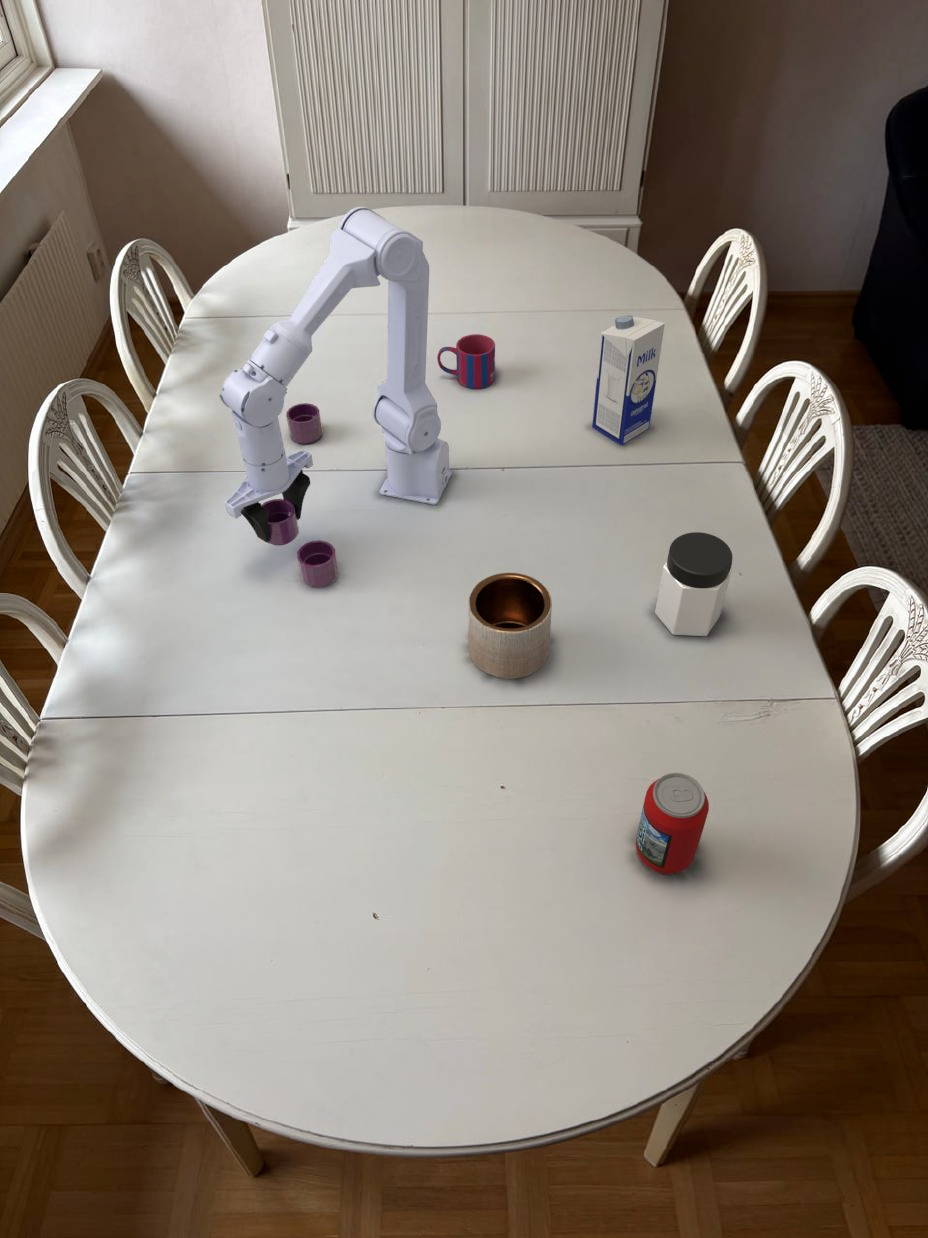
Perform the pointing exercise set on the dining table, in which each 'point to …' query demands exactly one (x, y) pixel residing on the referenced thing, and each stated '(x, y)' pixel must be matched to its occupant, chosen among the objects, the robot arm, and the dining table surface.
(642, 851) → the beverage can
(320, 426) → the dish
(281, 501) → the dish
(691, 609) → the jar
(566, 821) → the dining table surface
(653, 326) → the milk carton
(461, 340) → the mug
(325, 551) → the purple small cup
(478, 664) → the planter
